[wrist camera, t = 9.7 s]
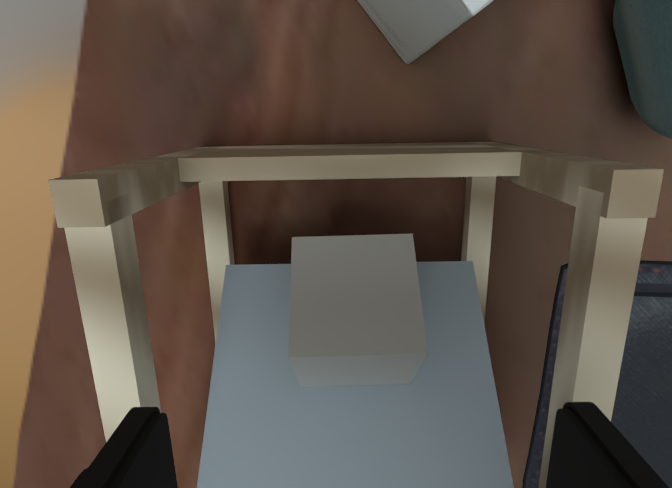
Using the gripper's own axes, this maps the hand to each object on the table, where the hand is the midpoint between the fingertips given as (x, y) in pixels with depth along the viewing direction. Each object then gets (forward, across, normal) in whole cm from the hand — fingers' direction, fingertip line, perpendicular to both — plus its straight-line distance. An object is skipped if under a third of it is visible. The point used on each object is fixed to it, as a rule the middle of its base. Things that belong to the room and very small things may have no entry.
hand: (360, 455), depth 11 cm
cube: (+11, 0, +2) cm, 11 cm away
